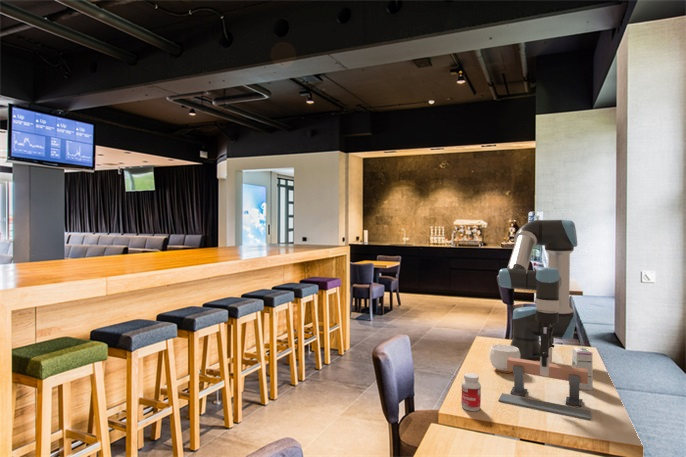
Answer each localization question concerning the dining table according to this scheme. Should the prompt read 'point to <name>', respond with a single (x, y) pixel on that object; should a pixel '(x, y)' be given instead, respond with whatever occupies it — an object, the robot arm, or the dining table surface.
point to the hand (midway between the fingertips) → (546, 370)
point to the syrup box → (583, 364)
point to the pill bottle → (471, 392)
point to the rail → (554, 369)
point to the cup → (502, 356)
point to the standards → (571, 400)
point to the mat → (546, 406)
